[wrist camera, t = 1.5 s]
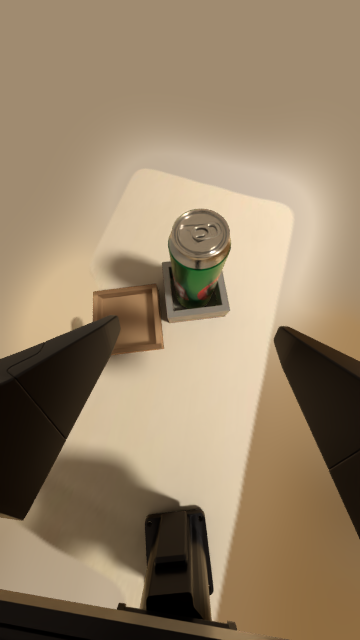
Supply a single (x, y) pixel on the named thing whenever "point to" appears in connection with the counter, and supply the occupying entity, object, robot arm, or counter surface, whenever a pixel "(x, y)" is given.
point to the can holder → (195, 313)
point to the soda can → (198, 255)
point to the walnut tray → (132, 316)
